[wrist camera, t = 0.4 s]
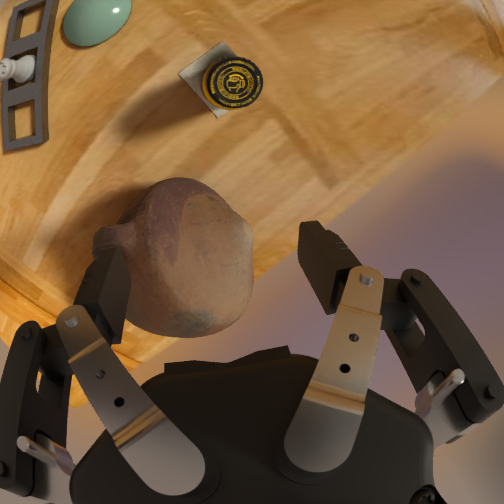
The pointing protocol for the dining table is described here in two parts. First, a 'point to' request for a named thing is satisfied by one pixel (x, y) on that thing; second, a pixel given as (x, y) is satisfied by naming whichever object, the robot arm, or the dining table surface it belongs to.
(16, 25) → the grey compartment tray
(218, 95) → the condiment
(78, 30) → the green dome
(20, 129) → the dining table surface
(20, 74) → the rook chess piece
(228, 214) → the jug
